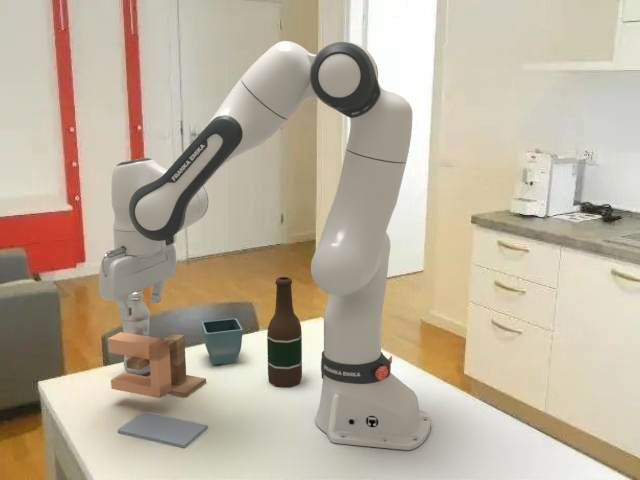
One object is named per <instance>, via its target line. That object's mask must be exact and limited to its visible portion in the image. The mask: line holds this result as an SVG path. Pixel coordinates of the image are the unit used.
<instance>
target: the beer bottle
mask: <svg viewBox="0 0 640 480" xmlns="http://www.w3.org/2000/svg"><path fill="white" fill-rule="evenodd" d="M274 283H275V285H276V292H275V293H276V294H275V295H276V297H275V309H274V315H273V316H272V318H271V319H270V321H269V323H268V327H267V334H266V343H267V344H266V345H267V348H266V349H267V376H268V377H267V378H268V383H269V384H271V385H273V386H274V387H277V388H278V387H279V388H292V387H295V386H297V385H299V384H300V382H301V380H302V375H303V345H302V344H303V341H302V340H303V337H302V336H303V335H302V332H303V331H302V325H301V322H300V320H299V318H298V316H297V315H296V313H295V311H294V305H293V295H292V294H293V292H292V291H293V290H292V284H293V279H292V278H291V277H289V276H280V277H279V276H278V277H277V278H276V279H275V282H274Z"/></svg>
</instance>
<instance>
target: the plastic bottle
mask: <svg viewBox="0 0 640 480" xmlns="http://www.w3.org/2000/svg"><path fill="white" fill-rule="evenodd" d="M143 299H144V295H143V289H142V290H140V291H138V292H135V293H133V294H131V295H128V301H126V303H127V305H128V307H132V311H131V312H132V315H131V316H129V317H127V318H123V317H121V316H120V315H119V317H120V322H121V325H122V330H123V333H129V334H135V335H141V336H148V337H150V321H151V319H150V317H151V312H150V308H149V307H148V306H147V303H145V302H144V301H143ZM123 356H124V357H123V367H124V371H125V373H130V374H135V375H140V376H145V375H148V374H150V364H148V365H147V366H145V367H144V368H142V369H140V370H136V369H130V368H127V365H126V360H128V359H129V358H131V357H132V356H126V355H123Z"/></svg>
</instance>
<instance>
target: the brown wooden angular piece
mask: <svg viewBox="0 0 640 480" xmlns="http://www.w3.org/2000/svg"><path fill="white" fill-rule="evenodd" d="M163 339H166V340H169V349H170V368H171V386H172V390H171V391H170V392H169V393H167V394H166V395H171V396H176V397H182V398H188V397H189V396H190V395H191V394H193V393H195V392H196V391H197V390H198V389H200V388H201V387H203V386H205V384H207V378H205V377H199V376H195V375H189V374H187V362H186V359H187V358H186V343H185V342H186V341H185V339H186V338H185V335H184V334H178V333H172V334H171V333H170V334H169V335H168V336H167V337H164V338H163ZM148 364H150V360H149V359H143V358H137V357H131V358H129V359H128V360H126V365H127V368H130V369H136V370H140V369H142V368H144V367H145V366H147V365H148Z"/></svg>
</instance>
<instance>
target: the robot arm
mask: <svg viewBox="0 0 640 480" xmlns="http://www.w3.org/2000/svg"><path fill="white" fill-rule="evenodd" d="M374 59H375V58H374V57H373V56H372V53H370V52H369V50H367V49H366V48H365V47H363V46H362V45H360V44H358V43H354V42H350V41H349V42H348V41H339V42H333V43H331V44H328V45H326V46H325V47H323V48H322V49H321V50H319V52H317V54H313V53H312V52H310V51H308V50H307V49H306V48H304V47H303V46H302V45H300V44H298V43H296V42H293V41H289V40H281V41H279V42H277V43H275V44H274V45H272V46H271V47H269V48H268V50H267V51H265V52H264V53H263V54H262V55H261V56H260V57H259V58H258V59H257V60H255V62H253V64H252V65H251V66H250V67H249V68H248V69H247V70H246V71H245V73H244V74H243V75H242V76H241V77H240V78H239V80H238V81H237V82H236V84H235V85H234V86H233V88H232V89H231V91H230V92H229V93H228V94H227V96H226V97H225V98H224V100H223V101H222V103H221V105H220V106H219V108H218V109H217V110H216V111H215V113H214V114H213V116H212V117H211V118H210V120H209V121H208V123H207V124H206V126H205V127H204V128H203V129H202V131H201V132H200V133H199V134H198V135H197V137H196V138H195V139H194V140H193V141H192V142H191V144H190V145H189V146H188V147H187V148H186V149H185V150H184V151H183V152H182V153H181V154H180V156H179V157H177V159H176V160H175V161H174V163H172V165H171V166H170V167H169V168H168V169H167V168H165V167H163V166H161V165H160V164H158V162H157V161H155V160H154V159H152V158H149V157H142V158H137V159H132V160H126V161H122V162H120V163H117V164H116V166H115V167H113V170H112V174H111V175H112V176H111V207H112V211H113V212H114V222H113V224H112V225H113V226H112V227H113V228H112V229H113V230H112V231H113V246H114V247H113V248H114V249H112V250H108V251H106V252H105V255H104V256H103V257H102V259H101V261H100V266H99V272H98V273H99V274H98V295H99V297H100V298H101V299H102V300H105V301H112V302H114V303H115V304H116V306H117V307H118V309H119V317H120V316H121V317H123V318H127V317H129V316H131V315H132V312H131V311H132V307H128V305H127V303H126V302H127V301H128V295H131V294H133V293H135V292H138V291H140V290H142V291H143V290H144V289H147V288H149V287H151V286H152V289H151V290H152V291H151V293H150V294H149V295H148V296H149V303H150V304H154V305H156V304H159V303H160V302H161V301H162V298H161V297H162V296H161V295H162V292H163V289H164V285H165V280H167V279H170V278H172V277H174V276H175V273H176V271H177V252H176V246H175V244H176V243H177V236H176V234H178V233H179V232H180V231H182V230H185V229H186V228H187V229H188V227H190V226H192V225H194V224H196V223H197V222H198V221H200V220H201V219H203V217H204V216H205V215H206V213H207V211H208V208H209V197H208V196H209V195H208V193H207V191H206V189H205V187H204V186H205V185H206V184H207V183H208V181H210V180H211V178H212V177H213V176H214V175H215V173H216V172H217V171H219V169H220V168H221V167H223V166H224V165H225V164H226V163H228V162H230V161H231V160H232V159H234V158H236V157H238V156H239V155H241V154H243V153H245V152H248V151H250V150H253V149H254V148H257V147H259V146H260V145H262V144H264V143H265V142H266V141H267V140H269V139H270V138H271V137H272V136H274V135H275V134H276V133H277V132H278V131H279V130H280V129H281V128H282V127H283V126H284V125H285V124H286V123H287V122H288V121H289V119H291V117H292V116H293V114H294V113H295V112H296V111H297V109H298V108H299V107H300V106H302V104H304V103H305V102H306V101H307V100H309V99H311V98H318V99H319V100H320V101H321V102H322V103H323V104H325V105H326V106H328V107H330V108H331V109H333V110H335V111H337V112H339V113H341V114H342V115H344V116H345V117H348V118H349V120H350V123H349V124H350V125H349V127H350V128H349V135H348V139H347V143H346V148H345V152H344V157H343V162H342V165H341V166H342V167H341V171H340V175H339V179H338V184H337V189H336V193H335V195H334V199H333V201H332V204H331V206H330V210H329V212H328V215H327V217H326V220H325V223H324V226H323V229H322V232H321V235H320V239H319V242H318V244H317V247H316V250H315V252H314V254H313V257H312V259H311V263H310V273H311V277H312V279H313V281H314V283H315V285H316V286H317V287H318V289H320V290H321V291H322V292H324V293H326V294H327V295H328V298H327V302H326V307H325V308H324V309H325V310H324V313H323V350H322V352H321V359H320V360H321V361H320V372H321V379H322V384H321V385H322V386H321V391H320V393H321V395H320V400H319V404H318V409H317V412H316V415H315V424H316V426H317V427H318V428H319V429H320V430H321V431H322V432H324V433H326V435H327V437H328V439H329V441H330V442H331V443H333V444H340V445H351V446H362V447H370V448H371V447H373V448H374V447H375V448H380V449H383V448H384V449H392V450H401V451H412V450H414V449H416V448H418V447H420V446H421V445H422V444H423V443H424V442H425V441H426V440H427V438H428V437H429V435H430V433H431V432H430V431H431V428H432V427H431V426H432V423H431V418H430V416H429V414H428V413H426V412H424V411H420V405H419V400H418V396H417V395H416V393H415V391H414V390H413V389H412V388H410V387H409V386H408V385H407V384H405V383H403V381H402V380H400V379H399V378H398V377H397V376H395V375H394V374H393V373H392V372H391V369H392V368H391V367H392V366H391V364H392V363H393V356H392V355H391V356H389V358H387V357H386V356H385V355H384V354H383V352H382V324H383V323H382V321H383V310H384V302H385V295H386V287H387V281H388V271H389V263H390V262H389V261H390V253H391V240H390V236H389V234H388V233H387V229H388V227H389V224H390V222H391V218H392V215H393V213H394V211H395V209H396V206H397V202H398V198H399V195H400V190H401V186H402V182H403V178H404V174H405V170H406V166H407V161H408V157H409V153H410V146H411V141H412V132H413V131H412V130H413V108H412V105H410V103H409V102H408V101H407V99H405V98H404V97H402V96H401V95H399V94H396V93H394V92H391V91H387V90H385V89H383V88H382V86H381V85H380V83H379V71H378V66H377V63H376V61H375V60H374Z"/></svg>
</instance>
